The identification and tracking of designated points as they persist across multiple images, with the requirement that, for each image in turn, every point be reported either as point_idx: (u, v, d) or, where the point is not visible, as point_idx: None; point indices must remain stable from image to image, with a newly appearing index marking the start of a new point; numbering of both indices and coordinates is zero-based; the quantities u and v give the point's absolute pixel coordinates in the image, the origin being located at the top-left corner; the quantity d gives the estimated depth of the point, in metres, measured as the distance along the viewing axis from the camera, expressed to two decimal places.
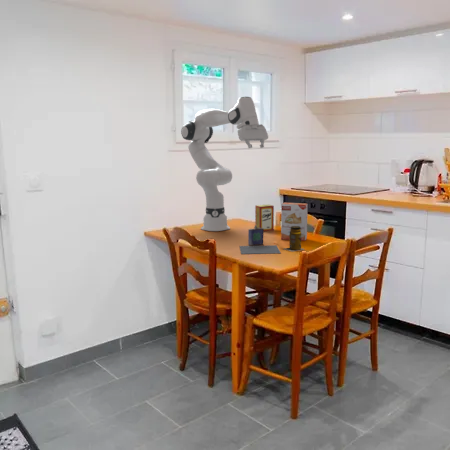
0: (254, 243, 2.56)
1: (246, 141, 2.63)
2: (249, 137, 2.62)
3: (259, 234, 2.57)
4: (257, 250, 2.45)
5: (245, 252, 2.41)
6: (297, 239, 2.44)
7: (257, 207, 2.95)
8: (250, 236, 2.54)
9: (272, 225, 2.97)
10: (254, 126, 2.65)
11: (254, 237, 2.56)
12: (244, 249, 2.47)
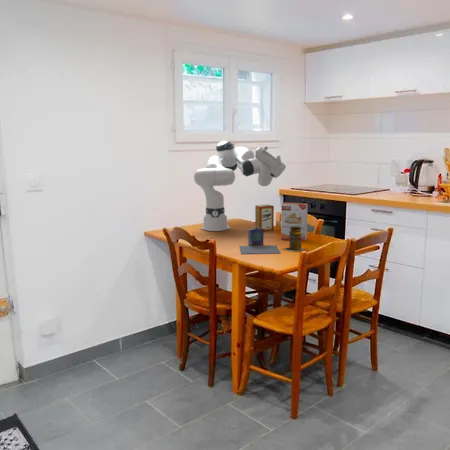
0: (254, 243, 2.56)
1: (280, 162, 2.71)
2: (276, 165, 2.72)
3: (259, 234, 2.57)
4: (257, 250, 2.45)
5: (245, 252, 2.41)
6: (297, 239, 2.44)
7: (257, 207, 2.95)
8: (250, 236, 2.55)
9: (272, 225, 2.97)
10: (266, 168, 2.78)
11: (254, 237, 2.56)
12: (244, 249, 2.47)
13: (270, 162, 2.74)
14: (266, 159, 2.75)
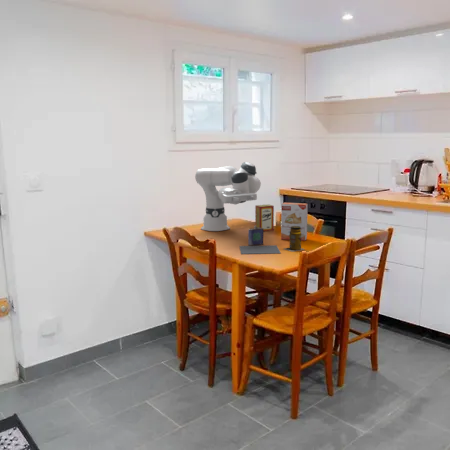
0: (254, 243, 2.56)
1: (232, 199, 2.64)
2: (233, 195, 2.66)
3: (259, 234, 2.57)
4: (257, 250, 2.45)
5: (245, 252, 2.41)
6: (297, 239, 2.44)
7: (257, 207, 2.95)
8: (250, 236, 2.55)
9: (272, 225, 2.97)
10: (235, 191, 2.73)
11: (254, 237, 2.56)
12: (244, 249, 2.47)
13: (238, 194, 2.68)
14: (242, 194, 2.69)
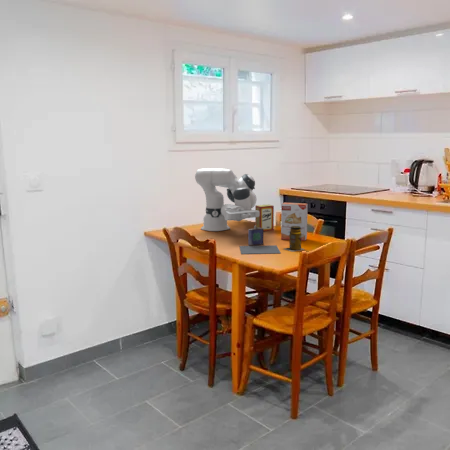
0: (254, 243, 2.56)
1: (242, 216, 2.68)
2: (236, 212, 2.67)
3: (259, 234, 2.57)
4: (257, 250, 2.45)
5: (245, 252, 2.41)
6: (297, 239, 2.44)
7: (257, 207, 2.95)
8: (250, 236, 2.55)
9: (272, 225, 2.97)
10: (238, 208, 2.74)
11: (254, 237, 2.56)
12: (244, 249, 2.47)
13: (241, 212, 2.70)
14: (245, 211, 2.71)
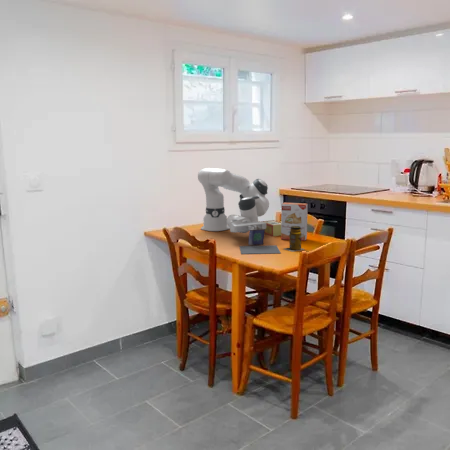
0: (254, 243, 2.56)
1: (248, 228, 2.59)
2: (242, 225, 2.59)
3: (260, 234, 2.56)
4: (257, 250, 2.45)
5: (245, 252, 2.41)
6: (297, 239, 2.44)
7: (271, 230, 2.80)
8: (251, 236, 2.54)
9: None
10: (244, 220, 2.66)
11: (255, 237, 2.55)
12: (244, 249, 2.47)
13: (247, 224, 2.62)
14: (252, 223, 2.63)
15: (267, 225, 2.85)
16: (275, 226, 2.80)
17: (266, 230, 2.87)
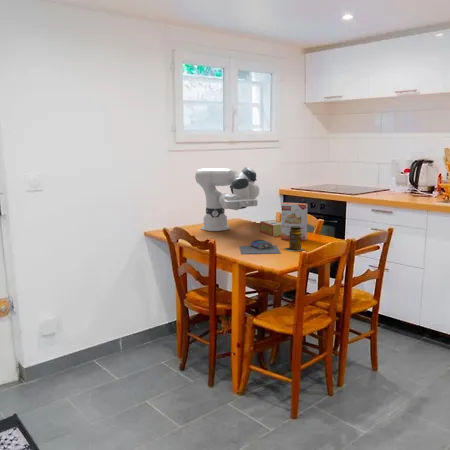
0: None
1: (239, 204, 2.66)
2: (233, 201, 2.66)
3: None
4: (257, 250, 2.45)
5: (245, 252, 2.41)
6: (297, 239, 2.44)
7: (271, 230, 2.80)
8: None
9: None
10: (236, 197, 2.73)
11: None
12: (244, 249, 2.47)
13: (239, 200, 2.69)
14: (243, 200, 2.70)
15: (267, 225, 2.85)
16: (275, 226, 2.80)
17: (266, 230, 2.87)
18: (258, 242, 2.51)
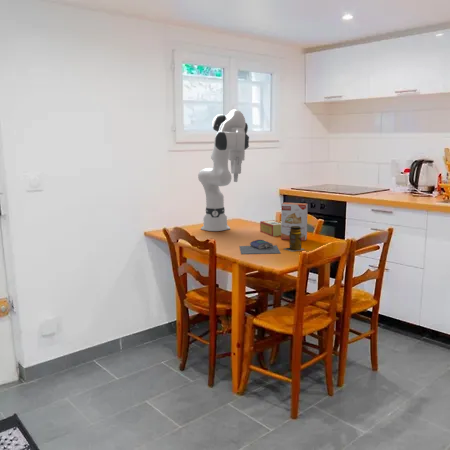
0: None
1: None
2: (232, 172, 2.71)
3: None
4: (257, 250, 2.45)
5: (245, 252, 2.41)
6: (297, 239, 2.44)
7: (271, 230, 2.80)
8: None
9: None
10: (231, 161, 2.66)
11: None
12: (244, 249, 2.47)
13: (232, 170, 2.67)
14: None
15: (267, 225, 2.85)
16: (275, 226, 2.80)
17: (266, 230, 2.87)
18: (258, 242, 2.51)
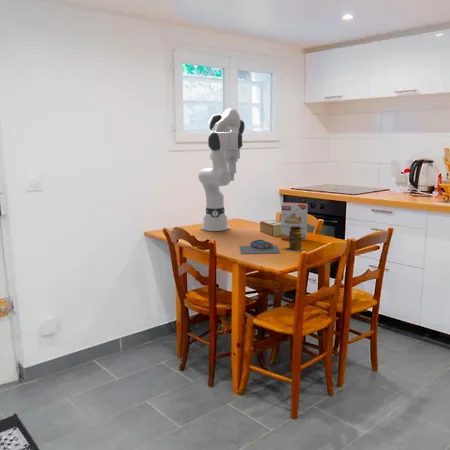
0: None
1: None
2: None
3: None
4: (257, 250, 2.45)
5: (245, 252, 2.41)
6: (297, 239, 2.44)
7: (271, 230, 2.80)
8: None
9: None
10: None
11: None
12: (244, 249, 2.47)
13: None
14: None
15: (267, 225, 2.85)
16: (275, 226, 2.80)
17: (266, 230, 2.87)
18: (258, 242, 2.51)
